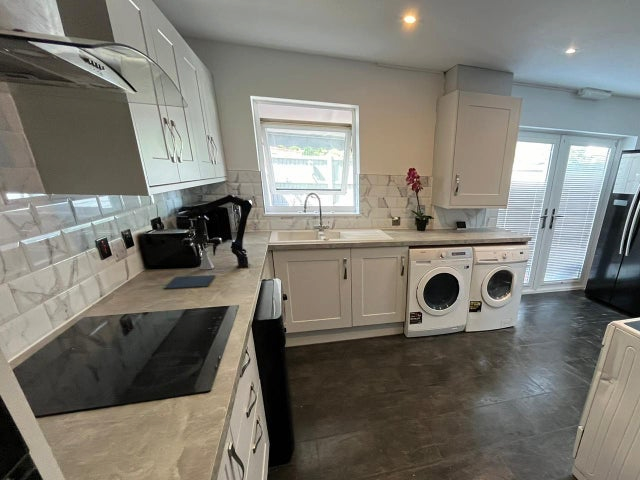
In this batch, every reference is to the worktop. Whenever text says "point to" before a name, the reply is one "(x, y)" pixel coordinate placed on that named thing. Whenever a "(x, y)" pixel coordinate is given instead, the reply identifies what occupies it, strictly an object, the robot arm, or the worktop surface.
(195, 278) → the mat
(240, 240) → the robot arm
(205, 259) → the flask
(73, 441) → the worktop surface
